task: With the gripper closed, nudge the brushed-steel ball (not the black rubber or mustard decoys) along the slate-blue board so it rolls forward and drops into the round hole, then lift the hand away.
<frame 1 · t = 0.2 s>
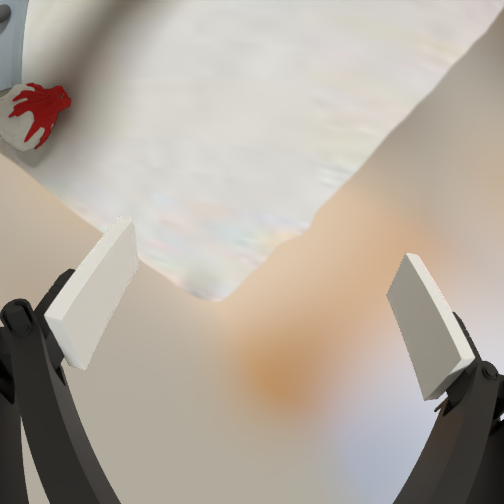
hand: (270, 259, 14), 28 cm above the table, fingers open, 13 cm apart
black ball: (1, 13, 20), point 4 cm above the table, touching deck
candle: (46, 108, 34), on the table
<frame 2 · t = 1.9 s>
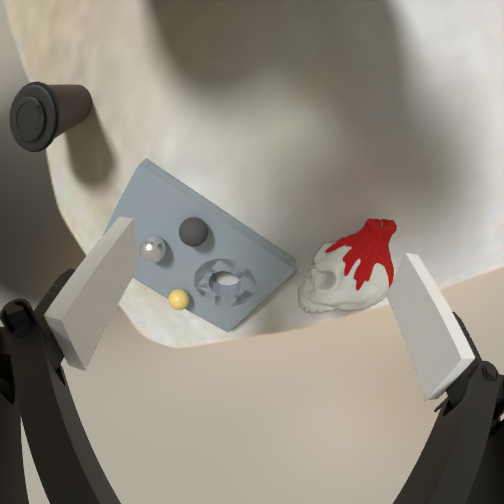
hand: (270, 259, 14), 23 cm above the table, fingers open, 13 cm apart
mustard ball: (178, 299, 42), point 4 cm above the table, touching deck
black ball: (193, 231, 35), point 4 cm above the table, touching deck
candle: (349, 249, 41), on the table
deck: (191, 251, 42), on the table
coffee cup: (76, 103, 30), on the table
steel ball: (152, 248, 37), point 4 cm above the table, touching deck
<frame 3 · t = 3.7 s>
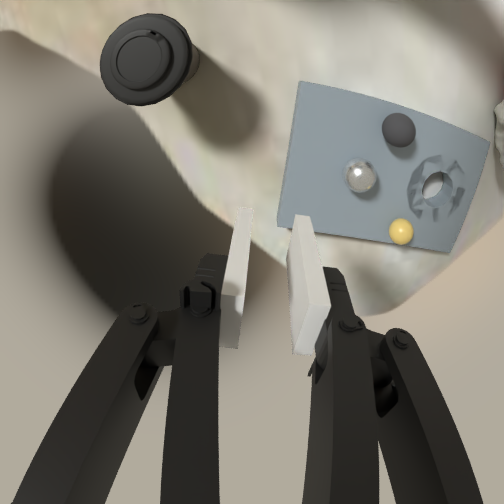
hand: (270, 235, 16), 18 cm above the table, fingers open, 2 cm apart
mustard ball: (401, 231, 31), point 4 cm above the table, touching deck
black ball: (398, 130, 25), point 4 cm above the table, touching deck
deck: (388, 171, 31), on the table
coffee cup: (175, 61, 26), on the table
steel ball: (359, 174, 28), point 4 cm above the table, touching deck
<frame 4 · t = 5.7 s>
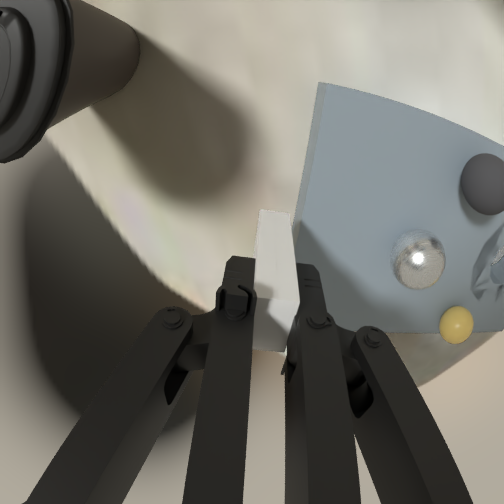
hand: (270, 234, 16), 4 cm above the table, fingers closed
mustard ball: (456, 325, 19), point 4 cm above the table, touching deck
black ball: (487, 184, 12), point 4 cm above the table, touching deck
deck: (447, 234, 19), on the table
coffee cup: (103, 58, 14), on the table
steel ball: (418, 259, 15), point 4 cm above the table, touching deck
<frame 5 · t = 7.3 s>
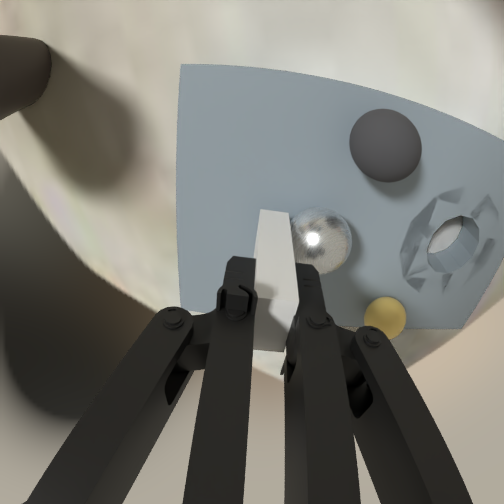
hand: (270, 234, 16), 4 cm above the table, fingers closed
mustard ball: (385, 318, 19), point 4 cm above the table, touching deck
black ball: (385, 145, 12), point 4 cm above the table, touching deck
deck: (369, 214, 19), on the table
coffee cup: (27, 72, 14), on the table
steel ball: (318, 240, 15), point 4 cm above the table, tilted 27°, touching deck, gripper
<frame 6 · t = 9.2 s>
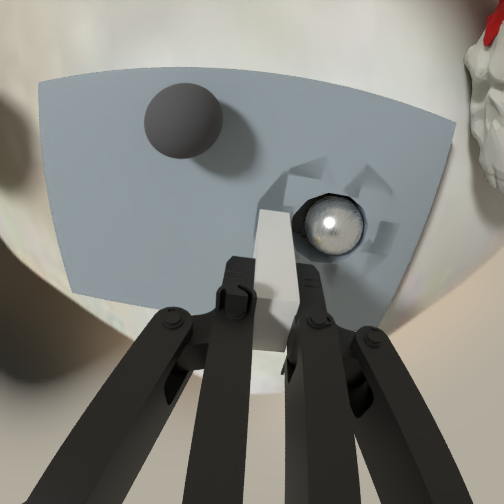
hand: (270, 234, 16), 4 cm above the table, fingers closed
black ball: (183, 120, 12), point 4 cm above the table, touching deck
candle: (499, 63, 12), on the table
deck: (229, 199, 19), on the table
steel ball: (333, 225, 17), point 2 cm above the table, tilted 42°
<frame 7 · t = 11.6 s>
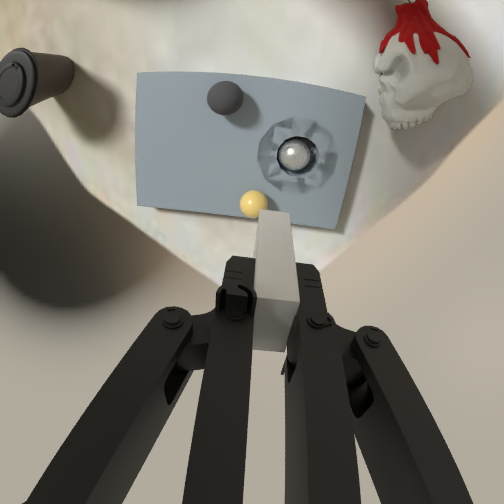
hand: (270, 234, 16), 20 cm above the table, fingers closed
mustard ball: (253, 203, 32), point 4 cm above the table, touching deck
black ball: (225, 98, 26), point 4 cm above the table, touching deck
candle: (406, 60, 25), on the table
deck: (243, 144, 33), on the table
coffee cup: (59, 74, 27), on the table
steel ball: (294, 154, 31), point 2 cm above the table, tilted 17°
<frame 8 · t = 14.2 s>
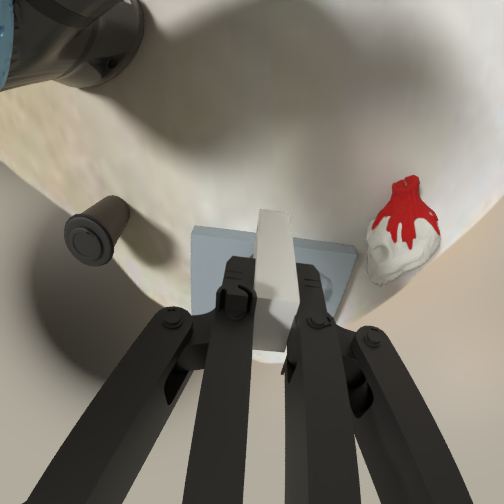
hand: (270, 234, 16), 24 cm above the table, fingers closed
candle: (393, 215, 41), on the table
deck: (268, 278, 48), on the table
coffee cup: (115, 210, 43), on the table
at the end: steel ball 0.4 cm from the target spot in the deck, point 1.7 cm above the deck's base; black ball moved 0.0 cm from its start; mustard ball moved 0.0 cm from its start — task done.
